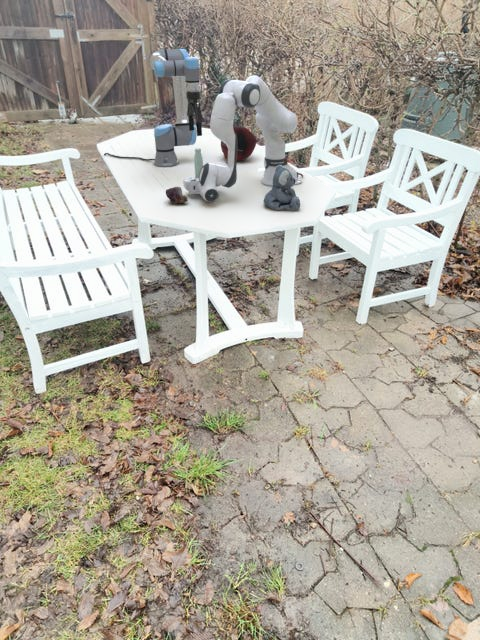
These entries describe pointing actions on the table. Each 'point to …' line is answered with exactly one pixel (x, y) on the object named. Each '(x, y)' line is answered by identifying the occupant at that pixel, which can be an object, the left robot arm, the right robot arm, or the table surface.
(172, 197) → the rock
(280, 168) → the koala plush
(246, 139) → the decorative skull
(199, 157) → the bottle
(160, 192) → the table surface
